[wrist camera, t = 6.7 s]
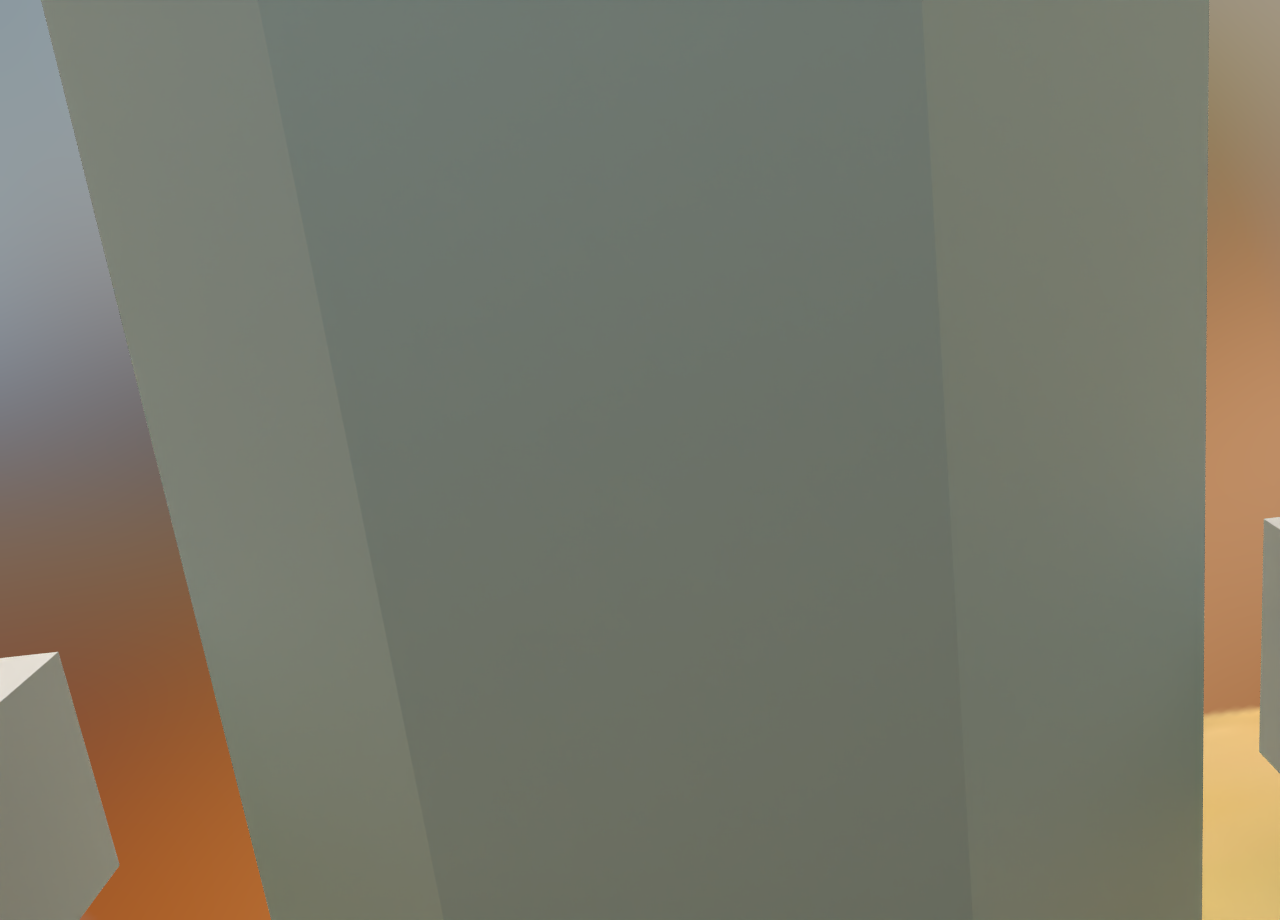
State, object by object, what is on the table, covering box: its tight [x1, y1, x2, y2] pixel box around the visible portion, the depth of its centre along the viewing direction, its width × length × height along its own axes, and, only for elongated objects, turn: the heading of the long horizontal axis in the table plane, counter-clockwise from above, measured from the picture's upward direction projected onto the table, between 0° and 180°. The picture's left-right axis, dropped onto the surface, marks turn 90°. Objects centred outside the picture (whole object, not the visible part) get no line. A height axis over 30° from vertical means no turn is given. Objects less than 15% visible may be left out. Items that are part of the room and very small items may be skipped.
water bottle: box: [41, 0, 1209, 920], centre depth 13 cm, size 10×10×25 cm
